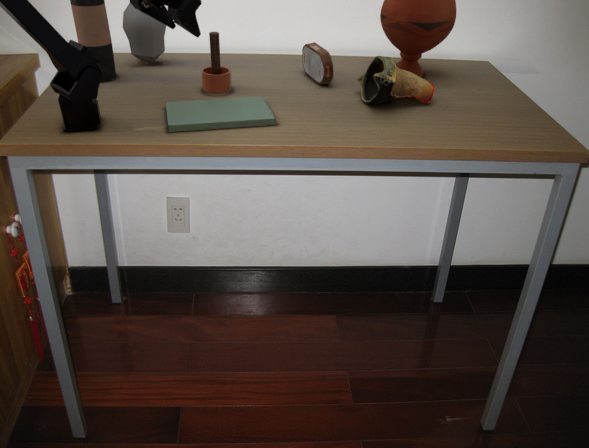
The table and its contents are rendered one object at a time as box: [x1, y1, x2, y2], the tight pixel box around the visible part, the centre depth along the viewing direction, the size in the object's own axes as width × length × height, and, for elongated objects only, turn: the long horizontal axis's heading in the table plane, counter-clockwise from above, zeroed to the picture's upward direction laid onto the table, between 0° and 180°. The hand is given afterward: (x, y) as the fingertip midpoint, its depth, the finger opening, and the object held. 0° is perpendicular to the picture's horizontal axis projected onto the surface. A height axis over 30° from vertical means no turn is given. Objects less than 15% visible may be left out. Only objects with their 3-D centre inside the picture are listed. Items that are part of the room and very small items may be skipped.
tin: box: [301, 42, 334, 85], centre depth 128 cm, size 15×3×8 cm, turn 22°
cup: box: [200, 65, 233, 95], centre depth 119 cm, size 7×7×5 cm
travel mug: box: [69, 0, 117, 83], centre depth 120 cm, size 8×8×20 cm
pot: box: [356, 55, 435, 105], centre depth 116 cm, size 17×11×18 cm
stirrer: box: [208, 31, 222, 75], centre depth 117 cm, size 3×3×13 cm
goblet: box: [379, 0, 457, 78], centre depth 130 cm, size 19×19×25 cm
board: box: [165, 96, 276, 133], centre depth 107 cm, size 22×13×2 cm, turn 104°
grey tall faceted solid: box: [122, 2, 167, 65], centre depth 128 cm, size 11×11×30 cm
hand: (186, 31), depth 110 cm, fingers open, 9 cm apart
